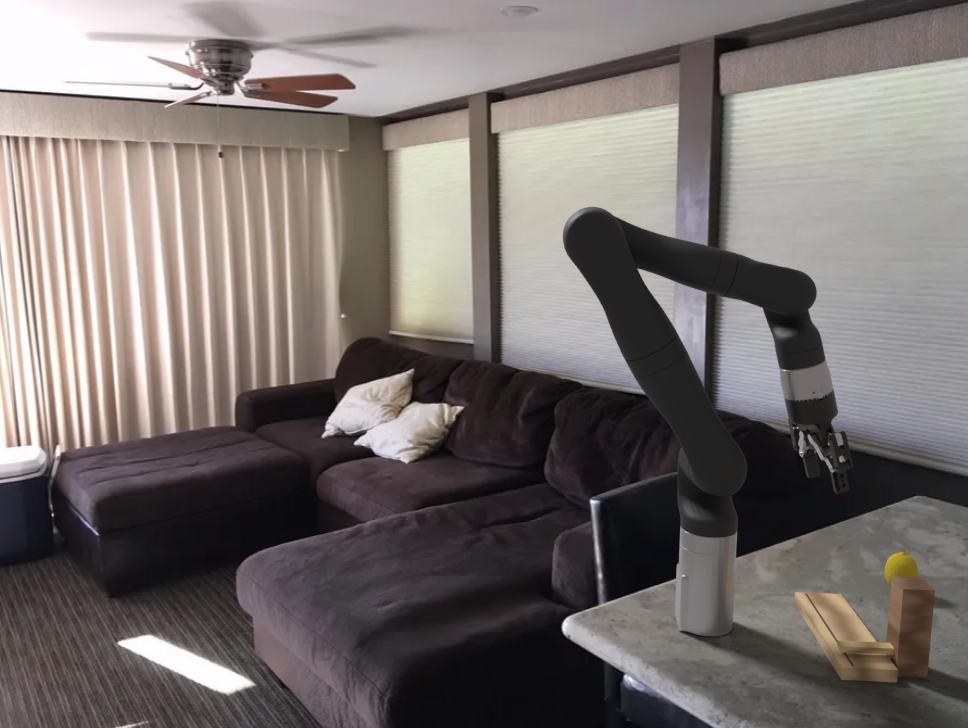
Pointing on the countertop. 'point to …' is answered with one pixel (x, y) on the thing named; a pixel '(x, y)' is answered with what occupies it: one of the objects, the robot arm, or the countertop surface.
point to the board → (843, 637)
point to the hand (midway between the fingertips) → (827, 484)
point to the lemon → (900, 566)
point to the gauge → (904, 628)
